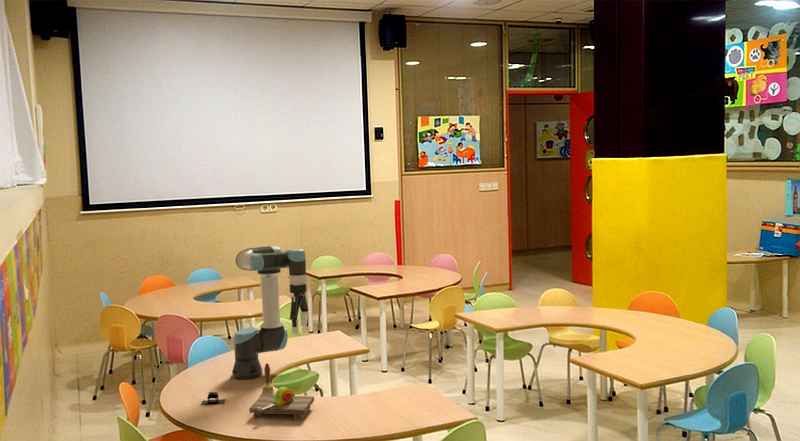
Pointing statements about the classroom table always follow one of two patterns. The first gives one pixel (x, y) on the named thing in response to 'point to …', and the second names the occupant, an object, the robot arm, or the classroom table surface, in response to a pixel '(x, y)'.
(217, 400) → the black arched bracket
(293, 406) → the walnut stand
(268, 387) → the hand bell
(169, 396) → the classroom table surface
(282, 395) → the toy measuring tape
